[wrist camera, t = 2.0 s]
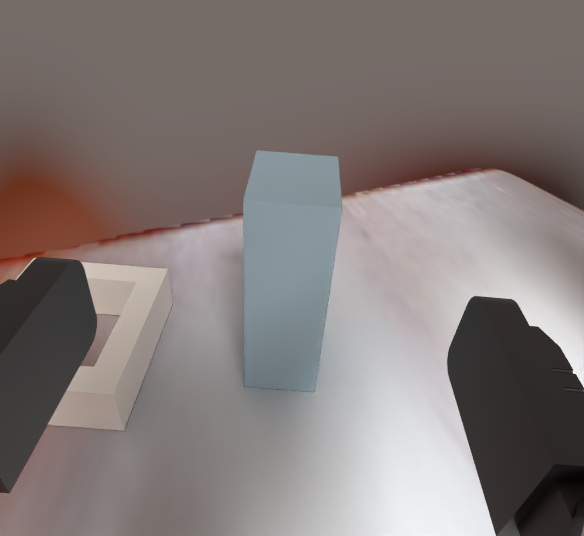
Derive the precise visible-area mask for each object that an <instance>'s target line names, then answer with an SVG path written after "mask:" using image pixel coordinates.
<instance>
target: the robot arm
mask: <svg viewBox="0 0 584 536" xmlns="http://www.w3.org/2000/svg"><path fill="white" fill-rule="evenodd" d="M96 328H97V316H96V312H95V308H94V304H93V300H92V296H91V292H90V289H89V285H88V281H87V277H86V273H85V270H84V267H83V265H82V263H81V262H80V261H78V260H71V259H59V258H48V257H38V258H36V259H34V260H33V261H32V262H31V263H30V265H29V266H28V267H27V268H26V269H25V270H24V271H23V273H22V274H21V275H20V276H19V277H18V278H17V279H16V280H10V279H9V280H7V281H6V282H4V283H2V284H1V285H0V492H1V493H10V492H11V490H12V488H13V486H14V485H15V483H16V481H17V479H18V477H19V475H20V474H21V472H22V470H23V468H24V466H25V465H26V463H27V461H28V459H29V457H30V456H31V454H32V452H33V450H34V448H35V446H36V445H37V443H38V441H39V439H40V437H41V436H42V434H43V432H44V430H45V428H46V427H47V425H48V423H49V421H50V419H51V418H52V416H53V414H54V412H55V410H56V408H57V407H58V405H59V403H60V401H61V399H62V398H63V396H64V394H65V392H66V390H67V389H68V387H69V385H70V383H71V381H72V379H73V378H74V376H75V374H76V372H77V370H78V369H79V367H80V365H81V363H82V361H83V360H84V358H85V356H86V354H87V352H88V351H89V349H90V347H91V345H92V343H93V340H94V337H95V334H96ZM447 367H448V375H449V379H450V382H451V385H452V389H453V392H454V396H455V399H456V402H457V406H458V409H459V412H460V416H461V419H462V422H463V426H464V429H465V433H466V436H467V439H468V443H469V446H470V449H471V453H472V456H473V460H474V463H475V466H476V470H477V473H478V476H479V480H480V483H481V486H482V490H483V493H484V497H485V500H486V503H487V507H488V510H489V513H490V517H491V520H492V524H493V527H494V530H495V534H496V536H584V387H583V386H582V384H581V382H580V381H579V379H578V377H577V375H576V374H573V369H572V367H571V365H570V364H569V362H568V360H567V358H566V357H565V355H564V353H563V352H562V350H561V348H560V347H559V346H558V345H557V344H556V343H555V342H554V341H553V340H552V339H551V338H550V337H549V336H547V335H546V334H545V333H544V332H543V331H542V330H541V329H540V328H539V327H535V326H529V324H528V322H527V321H526V319H525V317H524V315H523V313H522V311H521V309H520V308H519V306H518V304H517V303H516V302H515V301H514V300H512V299H503V298H491V297H480V296H474V297H472V298H471V299H470V301H469V302H468V304H467V307H466V309H465V311H464V314H463V316H462V319H461V321H460V323H459V326H458V328H457V331H456V333H455V335H454V338H453V340H452V343H451V345H450V348H449V352H448V359H447Z"/></svg>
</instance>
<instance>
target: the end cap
mask: <svg viewBox="0 0 584 536" xmlns="http://www.w3.org/2000/svg"><path fill="white" fill-rule="evenodd" d="M34 259H36V258H34ZM34 259H33V260H34ZM33 260H32V261H33ZM32 261H31V262H32ZM31 262H30V263H31ZM30 263H29V264H28V266H29V265H30ZM81 263H82V265H83V267H84V270H85V273H86V277H87V281H88V285H89V289H90V292H91V296H92V300H93V304H94V308H95V312H96V314H108V315H120V317H119V318H118V320H117V322H116V324H115V326H114V328H113V330H112V332H111V334H110V336H109V338H108V340H107V342H106V344H105V346H104V348H103V350H102V352H101V354H100V356H99V358H98V360H97V362H96V364H95V366H94V367H90V366H80V367H79V369H78V370H77V372H76V374H75V376H74V378H73V379H72V381H71V383H70V385H69V387H68V389H67V390H66V392H65V394H64V396H63V398H62V399H61V401H60V403H59V405H58V407H57V408H56V410H55V412H54V414H53V416H52V418H51V419H50V421H49V423H48V425H56V426H69V427H82V428H95V429H108V430H120V431H124V429H125V427H126V424H127V422H128V419H129V416H130V414H131V411H132V409H133V406H134V403H135V401H136V398H137V396H138V393H139V390H140V388H141V385H142V383H143V380H144V377H145V375H146V372H147V370H148V367H149V364H150V362H151V359H152V357H153V354H154V351H155V349H156V346H157V344H158V341H159V338H160V336H161V333H162V331H163V328H164V325H165V323H166V320H167V318H168V315H169V312H170V310H171V307H172V305H173V301H172V293H171V286H170V279H169V272H168V269H163V268H150V267H138V266H125V265H112V264H100V263H87V262H81ZM28 266H27V267H28ZM27 267H26V268H27ZM26 268H25V269H26ZM25 269H24V270H25ZM24 270H23V271H24ZM23 271H22V273H23ZM22 273H21V274H22ZM21 274H20V275H21ZM20 275H19V276H20ZM19 276H18V277H19ZM18 277H17V278H18ZM17 278H16V279H17Z"/></svg>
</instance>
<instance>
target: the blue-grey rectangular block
mask: <svg viewBox="0 0 584 536" xmlns="http://www.w3.org/2000/svg"><path fill="white" fill-rule="evenodd" d="M341 213H342V198H341V187H340V175H339V163H338V157H333V156H321V155H307V154H295V153H282V152H269V151H257V152H256V156H255V159H254V163H253V166H252V170H251V174H250V177H249V181H248V185H247V188H246V192H245V196H244V199H243V246H244V387H255V388H268V389H281V390H294V391H307V392H315V386H316V379H317V372H318V366H319V359H320V353H321V346H322V339H323V333H324V326H325V319H326V313H327V306H328V300H329V293H330V286H331V280H332V273H333V266H334V260H335V253H336V247H337V240H338V233H339V227H340V220H341Z"/></svg>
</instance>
